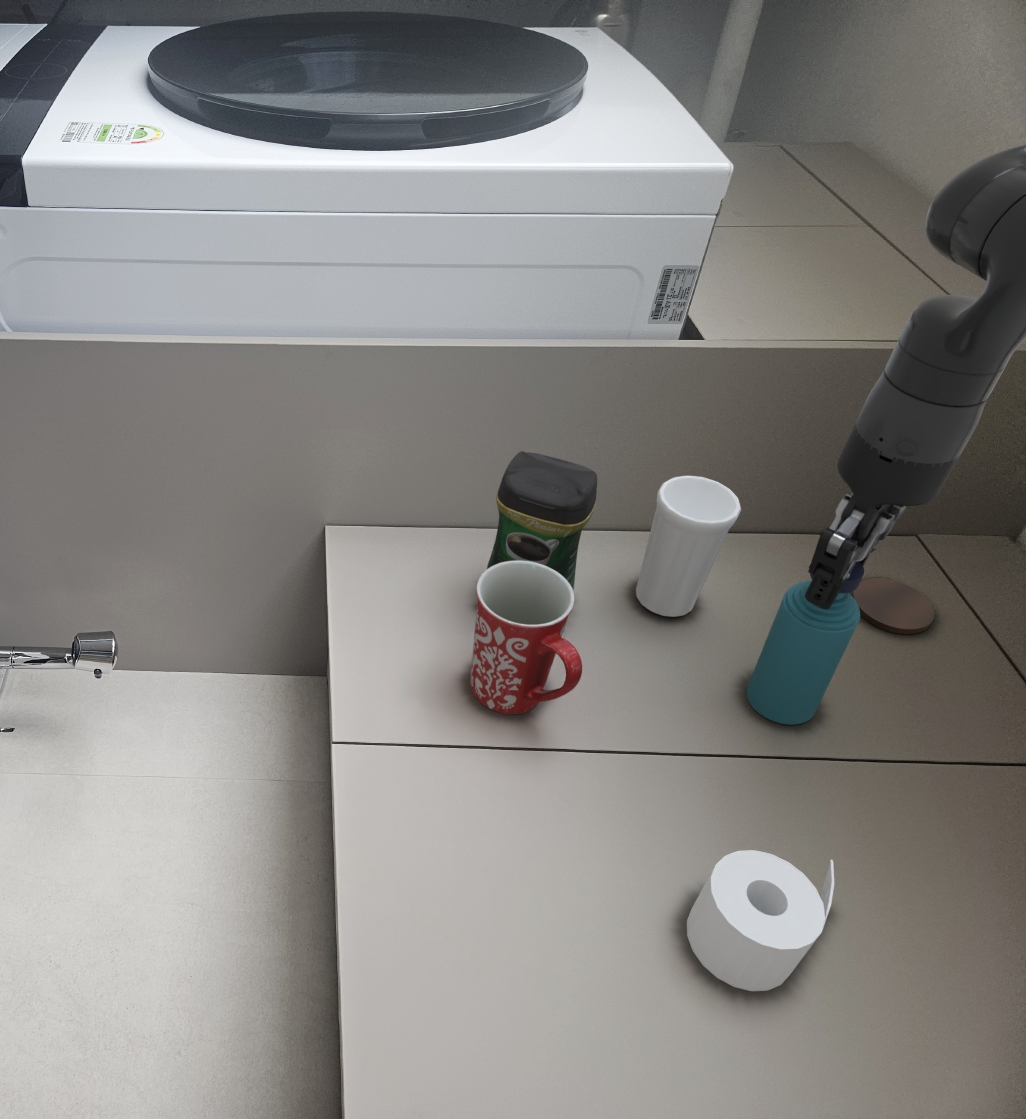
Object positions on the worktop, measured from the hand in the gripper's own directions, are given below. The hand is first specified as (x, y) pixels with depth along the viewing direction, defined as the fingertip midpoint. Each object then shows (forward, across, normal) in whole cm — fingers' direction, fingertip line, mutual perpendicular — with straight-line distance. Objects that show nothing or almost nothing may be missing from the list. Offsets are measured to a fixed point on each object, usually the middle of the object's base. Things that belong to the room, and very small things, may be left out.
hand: (829, 590), depth 87 cm
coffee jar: (+16, +7, -26) cm, 31 cm away
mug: (+16, +19, -18) cm, 30 cm away
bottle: (+15, -1, 0) cm, 15 cm away
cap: (-3, 0, 0) cm, 3 cm away
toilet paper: (+16, +24, +12) cm, 31 cm away
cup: (+15, -5, -15) cm, 22 cm away
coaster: (+15, -22, +2) cm, 27 cm away
